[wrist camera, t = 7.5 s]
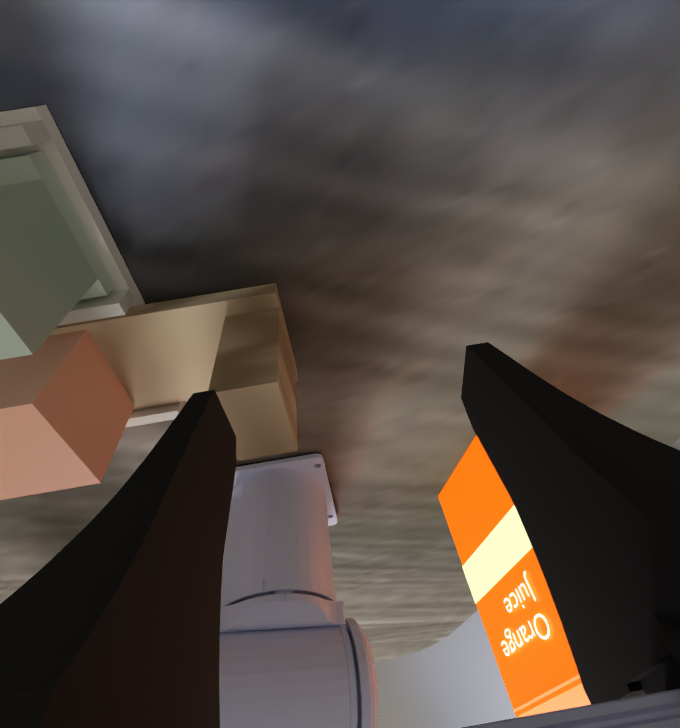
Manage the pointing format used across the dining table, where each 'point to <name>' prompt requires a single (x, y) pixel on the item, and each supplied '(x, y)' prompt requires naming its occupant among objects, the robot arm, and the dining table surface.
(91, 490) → the dining table surface
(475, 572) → the orange juice
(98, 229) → the lane board
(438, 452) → the dining table surface
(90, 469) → the block
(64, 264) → the strip
